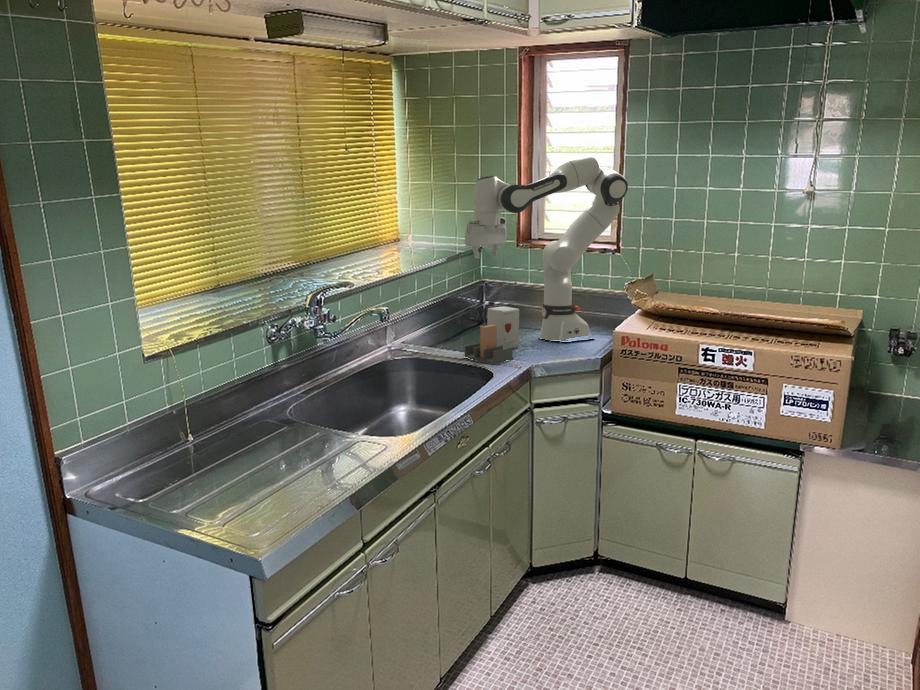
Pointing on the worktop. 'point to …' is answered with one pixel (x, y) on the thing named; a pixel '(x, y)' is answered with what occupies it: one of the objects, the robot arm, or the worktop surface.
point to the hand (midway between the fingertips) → (485, 257)
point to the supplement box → (505, 325)
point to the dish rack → (489, 354)
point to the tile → (488, 337)
